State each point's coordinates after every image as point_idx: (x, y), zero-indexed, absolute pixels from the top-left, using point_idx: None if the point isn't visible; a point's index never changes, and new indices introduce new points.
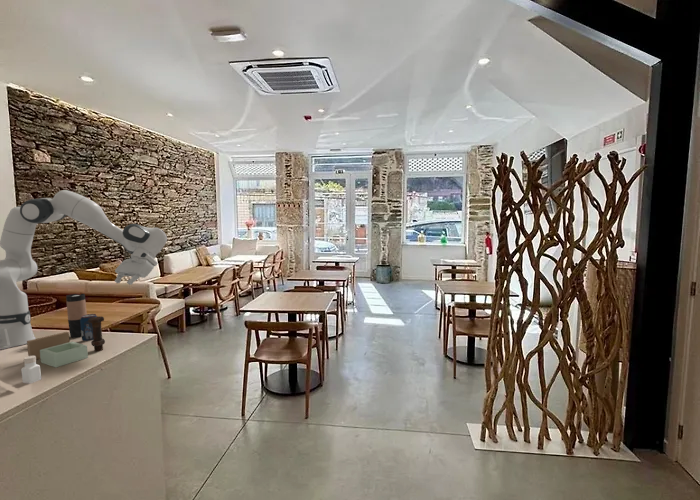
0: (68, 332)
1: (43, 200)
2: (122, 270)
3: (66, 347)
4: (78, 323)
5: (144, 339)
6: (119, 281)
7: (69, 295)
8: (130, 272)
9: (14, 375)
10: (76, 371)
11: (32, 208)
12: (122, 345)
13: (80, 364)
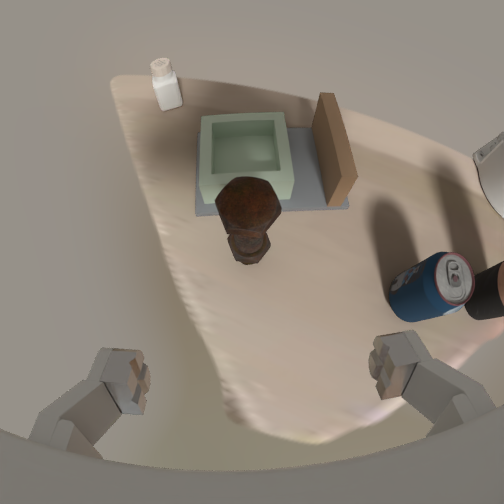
0: (341, 176)
1: None
2: (446, 453)
3: (278, 167)
4: (489, 281)
5: (255, 411)
6: (379, 374)
7: None
8: (134, 466)
9: (257, 97)
10: (152, 163)
11: None
12: (257, 334)
13: (192, 184)
